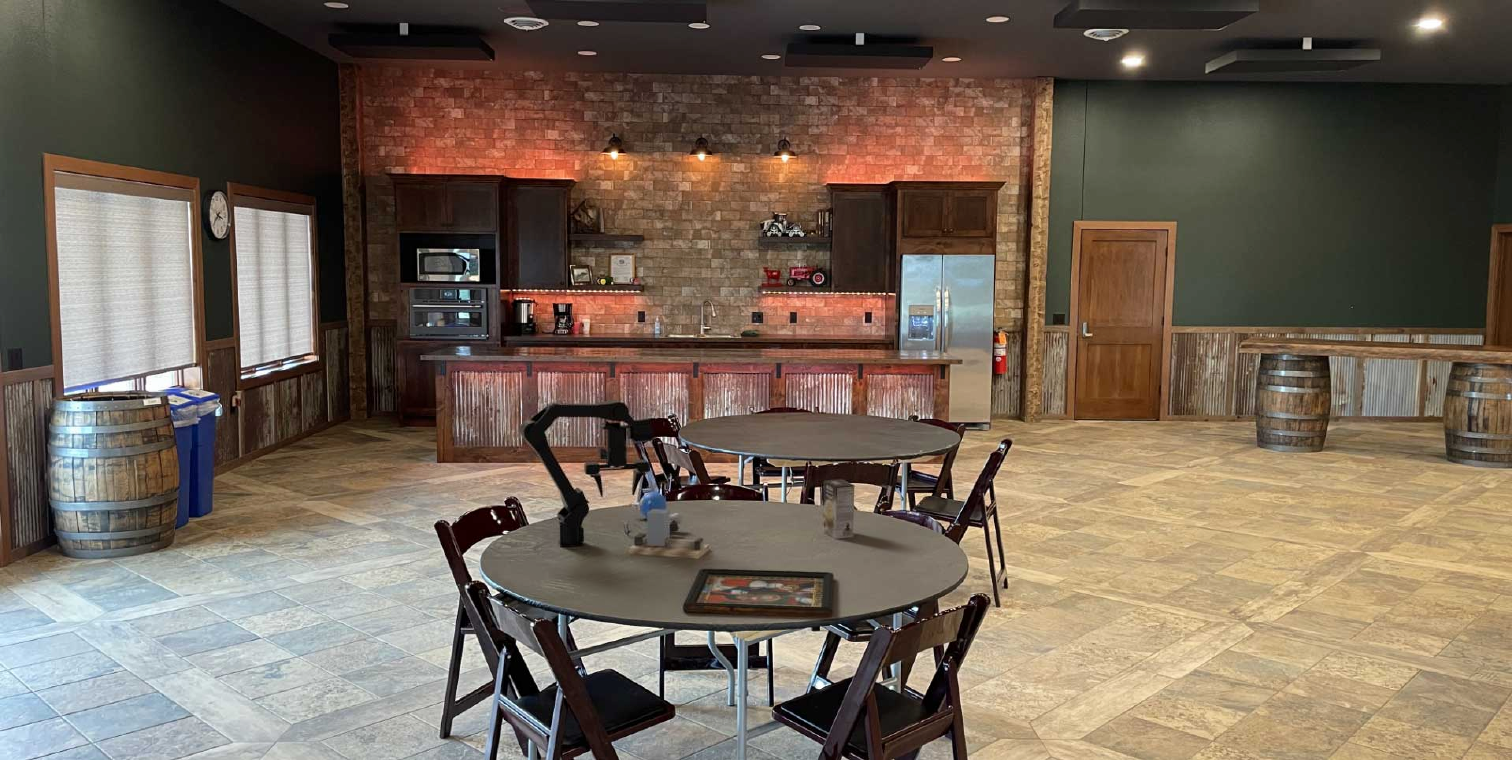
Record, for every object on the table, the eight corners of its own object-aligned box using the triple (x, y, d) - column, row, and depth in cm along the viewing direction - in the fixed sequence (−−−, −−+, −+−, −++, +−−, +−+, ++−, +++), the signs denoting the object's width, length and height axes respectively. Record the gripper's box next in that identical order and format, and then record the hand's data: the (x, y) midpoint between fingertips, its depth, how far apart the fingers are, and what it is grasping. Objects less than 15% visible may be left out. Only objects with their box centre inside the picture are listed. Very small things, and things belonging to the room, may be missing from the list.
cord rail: (628, 553, 297) (628, 539, 296) (641, 544, 307) (641, 530, 307) (698, 559, 292) (698, 544, 291) (709, 549, 302) (709, 535, 301)
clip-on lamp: (620, 547, 315) (679, 536, 313) (615, 527, 314) (674, 515, 312) (629, 533, 327) (685, 522, 324) (624, 514, 326) (680, 503, 323)
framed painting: (831, 576, 278) (831, 565, 278) (847, 620, 243) (847, 608, 243) (686, 576, 277) (686, 565, 277) (682, 621, 242) (682, 608, 242)
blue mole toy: (632, 513, 345) (632, 488, 344) (668, 514, 345) (668, 488, 344) (626, 522, 333) (626, 496, 332) (663, 523, 333) (663, 496, 332)
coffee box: (822, 532, 322) (822, 480, 321) (840, 530, 325) (841, 478, 323) (835, 539, 314) (835, 486, 312) (854, 537, 316) (855, 484, 314)
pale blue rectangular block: (647, 545, 298) (647, 512, 297) (653, 541, 303) (652, 508, 302) (664, 546, 297) (663, 513, 296) (669, 542, 302) (669, 510, 301)
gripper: (644, 437, 320) (644, 488, 321) (581, 440, 315) (582, 492, 316) (650, 443, 309) (650, 496, 311) (585, 446, 304) (586, 499, 306)
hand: (617, 495), depth 311 cm, fingers open, 9 cm apart
